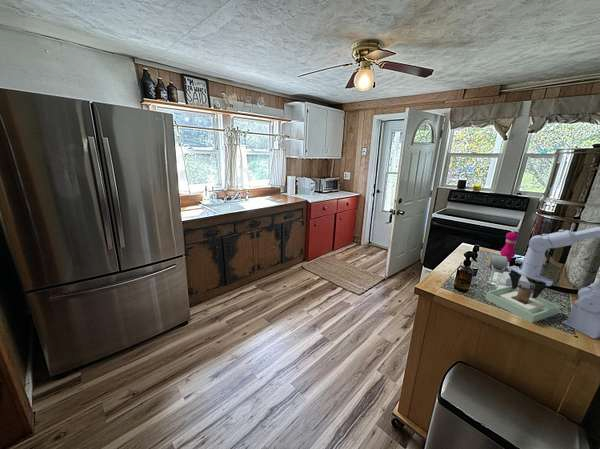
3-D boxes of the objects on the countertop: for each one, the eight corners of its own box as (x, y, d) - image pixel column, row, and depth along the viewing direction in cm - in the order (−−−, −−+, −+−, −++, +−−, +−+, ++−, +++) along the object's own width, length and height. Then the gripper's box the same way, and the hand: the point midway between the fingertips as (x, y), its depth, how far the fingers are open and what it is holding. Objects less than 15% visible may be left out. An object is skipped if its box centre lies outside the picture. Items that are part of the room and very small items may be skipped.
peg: (528, 307, 108) (533, 290, 106) (523, 309, 106) (528, 292, 104) (517, 302, 111) (522, 286, 109) (512, 304, 110) (517, 288, 107)
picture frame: (557, 314, 104) (560, 306, 103) (531, 324, 98) (534, 315, 97) (510, 292, 120) (512, 285, 119) (484, 299, 114) (486, 291, 113)
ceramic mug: (485, 263, 152) (488, 252, 150) (502, 266, 149) (505, 254, 146) (490, 271, 143) (493, 259, 140) (507, 274, 139) (511, 261, 137)
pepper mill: (502, 261, 155) (510, 231, 150) (496, 257, 162) (503, 228, 156) (515, 262, 154) (524, 232, 148) (508, 258, 161) (516, 228, 155)
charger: (520, 278, 135) (528, 291, 122) (499, 274, 139) (504, 286, 127) (523, 270, 133) (530, 282, 121) (501, 266, 138) (507, 277, 125)
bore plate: (542, 310, 106) (545, 304, 105) (526, 315, 102) (528, 309, 101) (513, 296, 116) (515, 291, 115) (498, 301, 112) (499, 295, 111)
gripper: (560, 269, 98) (550, 300, 102) (518, 256, 111) (511, 283, 115) (550, 272, 96) (540, 303, 99) (508, 258, 109) (501, 285, 112)
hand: (524, 292), depth 107 cm, fingers open, 7 cm apart
